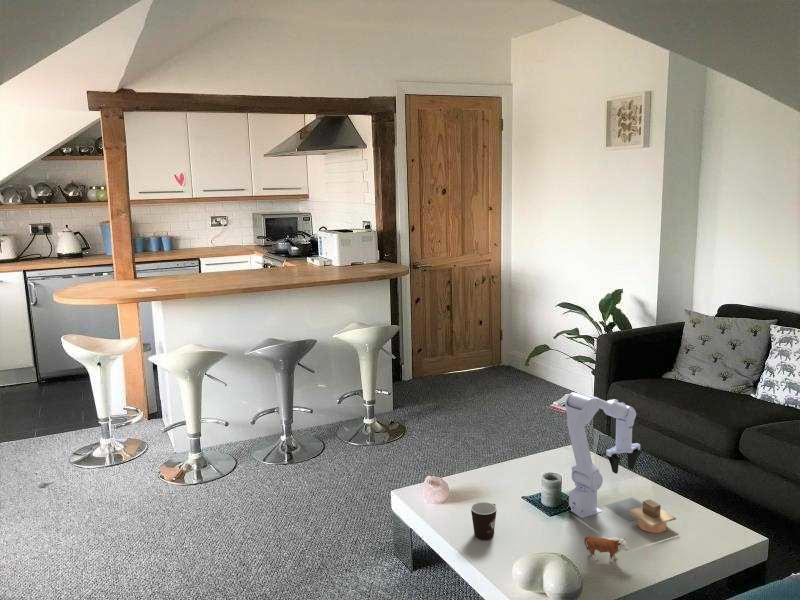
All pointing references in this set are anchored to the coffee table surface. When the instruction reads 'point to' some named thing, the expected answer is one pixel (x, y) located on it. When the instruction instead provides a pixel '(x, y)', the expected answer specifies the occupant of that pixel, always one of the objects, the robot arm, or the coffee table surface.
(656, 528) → the terracotta bowl
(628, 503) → the mat
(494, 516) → the coffee mug
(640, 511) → the oak lid
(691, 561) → the coffee table surface
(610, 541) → the bull figurine
